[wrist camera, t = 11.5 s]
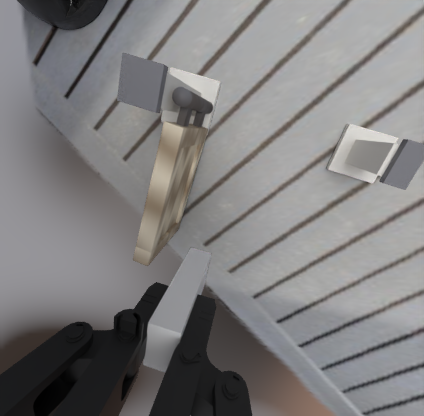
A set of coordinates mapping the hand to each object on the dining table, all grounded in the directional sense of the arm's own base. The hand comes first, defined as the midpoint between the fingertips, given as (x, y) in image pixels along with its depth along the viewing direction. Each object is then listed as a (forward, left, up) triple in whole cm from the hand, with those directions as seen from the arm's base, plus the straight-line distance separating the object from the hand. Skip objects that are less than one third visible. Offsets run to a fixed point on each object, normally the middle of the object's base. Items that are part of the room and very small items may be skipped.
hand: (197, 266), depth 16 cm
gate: (-7, +1, -19) cm, 21 cm away
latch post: (+14, +11, -21) cm, 27 cm away
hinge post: (-10, +11, -21) cm, 25 cm away
